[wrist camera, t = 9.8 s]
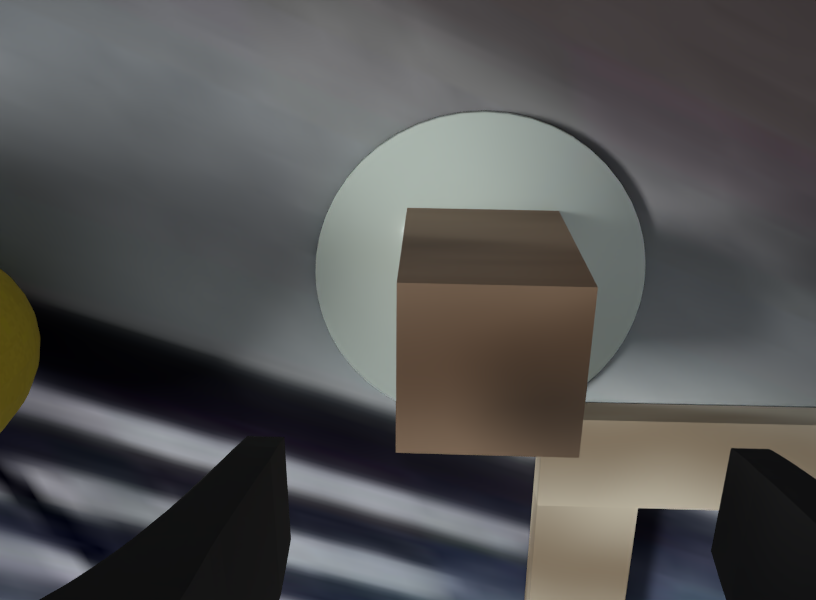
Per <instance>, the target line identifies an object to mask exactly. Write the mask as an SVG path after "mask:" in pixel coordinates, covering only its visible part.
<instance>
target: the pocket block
mask: <svg viewBox="0 0 816 600" xmlns="http://www.w3.org/2000/svg"><path fill="white" fill-rule="evenodd" d="M731 448H749V449H770V450H772V451H774V452H776V453H777V454H779V455H781V456H782V457H784V458H785V459H787V460H789V461H790V462H792V463H793V464H795V465H796V466H798V467H799V468H801V469H802V470H803V471H805V472H806V473H808V474H809V475H811V476H812V477H814V478H815V479H816V408H808V407H763V406H718V405H673V404H628V403H585V409H584V418H583V427H582V436H581V445H580V454H579V458H564V457H536V462H535V475H534V487H533V500H532V512H531V525H530V538H529V550H528V563H527V576H526V588H525V600H625V596H626V589H627V582H628V575H629V568H630V561H631V554H632V547H633V540H634V533H635V526H636V519H637V512H638V508H649V509H687V510H719V507H720V502H721V497H722V492H723V487H724V481H725V476H726V471H727V466H728V460H729V455H730V450H731Z"/></svg>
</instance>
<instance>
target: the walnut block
mask: <svg viewBox="0 0 816 600" xmlns="http://www.w3.org/2000/svg"><path fill="white" fill-rule="evenodd" d="M597 292H598V286H597V284H596V283H595V281H594V279H593V277H592V275H591V273H590V271H589V269H588V267H587V265H586V263H585V261H584V259H583V257H582V255H581V253H580V251H579V249H578V247H577V245H576V243H575V241H574V239H573V237H572V236H571V234H570V232H569V230H568V228H567V226H566V224H565V222H564V220H563V218H562V216H561V214H560V212H559V211H546V210H496V209H446V208H407V212H406V220H405V227H404V234H403V241H402V248H401V255H400V262H399V269H398V277H397V309H396V453H429V454H462V455H496V456H530V457H564V458H579V454H580V445H581V436H582V427H583V418H584V409H585V400H586V391H587V382H588V373H589V364H590V355H591V346H592V337H593V328H594V319H595V310H596V301H597Z"/></svg>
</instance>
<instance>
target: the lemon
mask: <svg viewBox="0 0 816 600" xmlns="http://www.w3.org/2000/svg"><path fill="white" fill-rule="evenodd" d="M39 357H40V333H39V329H38V325H37V321H36V316H35V313H34V311H33V309H32V307H31V305H30V303H29V301H28V299H27V297H26V295H25V294H24V293H23V291H22V290H21V289H20V288H19V287H18V285H17V284H16V283H15V282H14V281H13V279H12V278H11V277H10V276H9V275H7V274H6V273H5V272H4V271H2V270H1V269H0V432H1V431H2V430H3V429H4V428H5V427H6V425H7V424H8V423H9V421H10V420H11V419H12V417H13V416H14V415H15V414H16V412H17V411H18V410H19V408H20V407H21V405H22V404H23V403H24V401H25V399H26V397H27V395H28V394H29V391H30V388H31V386H32V383H33V380H34V377H35V374H36V371H37V368H38V365H39Z"/></svg>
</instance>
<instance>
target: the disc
mask: <svg viewBox="0 0 816 600" xmlns="http://www.w3.org/2000/svg"><path fill="white" fill-rule="evenodd" d="M407 208H446V209H496V210H546V211H559V212H560V214H561V216H562V218H563V220H564V222H565V224H566V226H567V228H568V230H569V232H570V234H571V236H572V237H573V239H574V241H575V243H576V245H577V247H578V249H579V251H580V253H581V255H582V257H583V259H584V261H585V263H586V265H587V267H588V269H589V271H590V273H591V275H592V277H593V279H594V281H595V283H596V284H597V286H598V292H597V301H596V310H595V319H594V328H593V337H592V346H591V355H590V364H589V373H588V382H589V381H590V380H591V379H592V378H593V377H594V376H595V375H597V374H598V373H599V372H600V371H601V370H602V369H603V368H604V366H605V365H606V364H607V363H608V362H609V361H610V360H611V358H612V357H613V356H614V355H615V353H616V352H617V350H618V349H619V347H620V346H621V344H622V343H623V341H624V340H625V338H626V336H627V334H628V332H629V330H630V328H631V326H632V324H633V322H634V320H635V317H636V314H637V311H638V308H639V305H640V303H641V298H642V293H643V288H644V283H645V265H646V260H645V248H644V240H643V235H642V231H641V227H640V223H639V220H638V217H637V214H636V212H635V209H634V207H633V204H632V202H631V200H630V198H629V196H628V195H627V193H626V191H625V189H624V188H623V186H622V184H621V183H620V181H619V180H618V179H617V178H616V176H615V175H614V174H613V172H612V171H611V170H610V169H609V167H608V166H607V165H606V164H605V163H604V162H603V161H602V160H601V159H600V158H599V157H598V156H597V155H596V154H595V153H594V152H593V151H592V150H591V149H590V148H589V147H587V146H586V145H584V144H583V143H582V142H580V141H579V140H577V139H576V138H575V137H573V136H572V135H570V134H568V133H566V132H564V131H563V130H561V129H559V128H557V127H555V126H553V125H551V124H548V123H545V122H543V121H540V120H537V119H534V118H532V117H528V116H523V115H519V114H514V113H509V112H499V111H486V110H483V111H466V112H458V113H453V114H447V115H442V116H438V117H435V118H432V119H429V120H426V121H423V122H420V123H417V124H415V125H413V126H411V127H409V128H407V129H405V130H403V131H401V132H399V133H397V134H395V135H394V136H392V137H391V138H389V139H388V140H386V141H385V142H383V143H382V144H380V145H379V146H377V147H376V148H375V149H374V150H373V151H372V152H371V153H369V154H368V155H367V156H366V157H365V158H364V159H363V160H362V161H361V162H360V163H359V164H358V165H357V166H356V168H355V169H354V170H353V171H352V172H351V173H350V174H349V176H348V177H347V178H346V180H345V181H344V183H343V185H342V186H341V188H340V189H339V191H338V192H337V194H336V196H335V198H334V200H333V202H332V204H331V206H330V208H329V210H328V212H327V215H326V217H325V220H324V223H323V226H322V229H321V233H320V236H319V241H318V247H317V253H316V270H315V278H316V287H317V296H318V300H319V304H320V308H321V312H322V316H323V318H324V321H325V323H326V326H327V328H328V330H329V333H330V335H331V337H332V338H333V340H334V342H335V344H336V345H337V347H338V349H339V351H340V352H341V353H342V355H343V356H344V357H345V359H346V360H347V361H348V362H349V364H350V365H351V366H352V367H353V368H354V369H355V370H356V371H357V372H358V373H359V374H360V375H361V376H362V377H363V378H364V379H365V380H366V381H367V382H368V383H369V384H371V385H372V386H373V387H375V388H376V389H377V390H378V391H380V392H381V393H383V394H384V395H386V396H388V397H389V398H391V399H393V400H394V401H396V309H397V277H398V269H399V262H400V255H401V248H402V241H403V234H404V227H405V220H406V212H407ZM588 382H587V383H588Z"/></svg>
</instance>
